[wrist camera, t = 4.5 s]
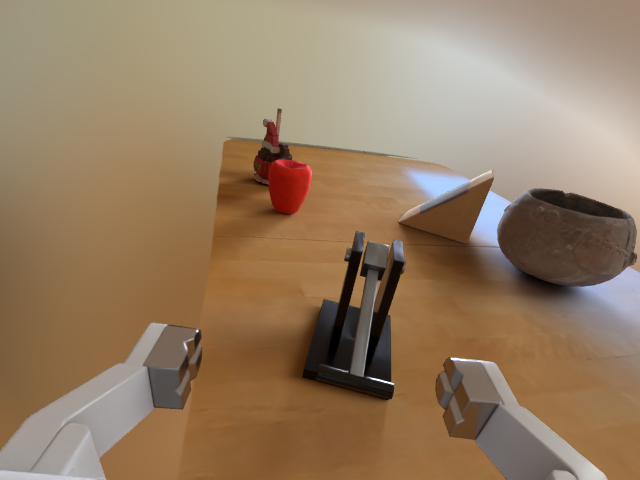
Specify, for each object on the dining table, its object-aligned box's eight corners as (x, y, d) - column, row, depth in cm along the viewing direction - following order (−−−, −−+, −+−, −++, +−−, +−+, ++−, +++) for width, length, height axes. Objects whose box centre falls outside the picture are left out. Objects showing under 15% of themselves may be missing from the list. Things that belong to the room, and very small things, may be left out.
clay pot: (508, 292, 56) (551, 211, 49) (472, 238, 75) (499, 173, 68) (633, 317, 56) (694, 239, 49) (565, 256, 74) (602, 193, 67)
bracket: (388, 400, 34) (431, 290, 27) (302, 377, 34) (324, 265, 28) (387, 323, 44) (418, 231, 38) (322, 306, 45) (341, 213, 39)
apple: (302, 203, 77) (309, 157, 72) (309, 220, 69) (317, 169, 64) (263, 200, 74) (268, 152, 69) (266, 217, 67) (271, 164, 62)
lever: (387, 402, 27) (395, 395, 25) (315, 383, 27) (317, 374, 25) (401, 263, 35) (408, 250, 33) (346, 250, 36) (349, 236, 34)
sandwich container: (405, 211, 83) (423, 151, 76) (468, 230, 78) (493, 169, 72) (397, 222, 76) (416, 157, 69) (466, 244, 71) (494, 177, 64)
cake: (298, 187, 86) (308, 114, 77) (265, 190, 80) (272, 112, 72) (278, 174, 93) (285, 106, 85) (247, 175, 88) (251, 103, 79)
